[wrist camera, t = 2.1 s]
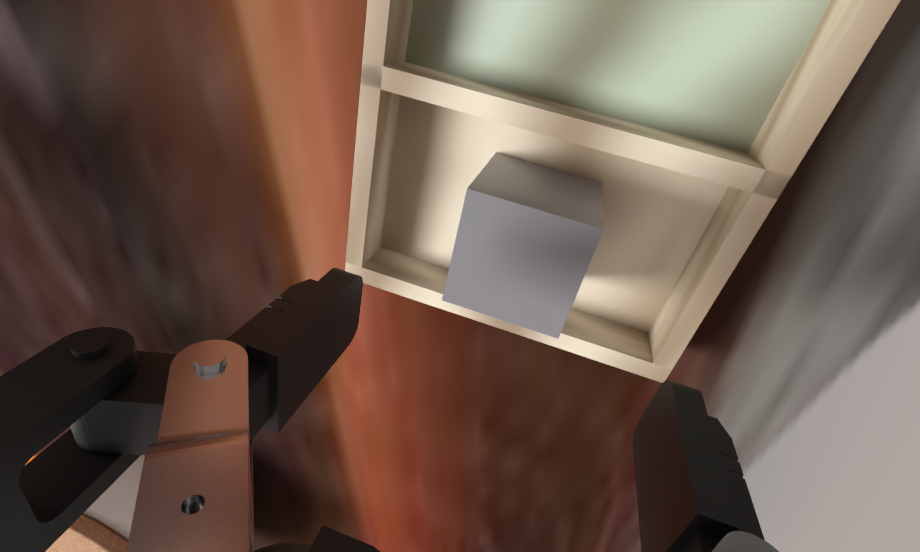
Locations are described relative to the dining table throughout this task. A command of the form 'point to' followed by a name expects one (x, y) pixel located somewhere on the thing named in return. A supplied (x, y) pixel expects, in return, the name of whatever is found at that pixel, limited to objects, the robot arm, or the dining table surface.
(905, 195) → the dining table surface
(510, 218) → the gray cube
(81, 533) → the lidded bowl
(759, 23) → the tray
